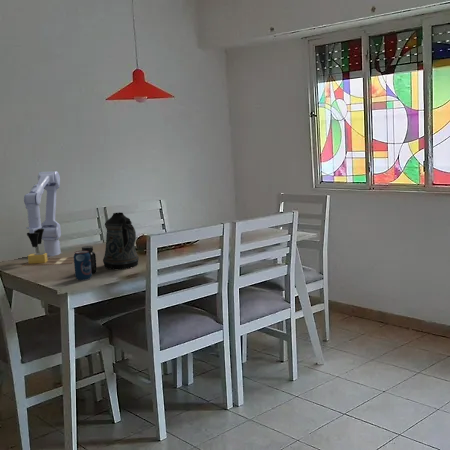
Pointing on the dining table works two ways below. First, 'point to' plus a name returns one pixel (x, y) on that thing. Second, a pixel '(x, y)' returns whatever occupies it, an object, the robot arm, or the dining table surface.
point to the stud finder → (37, 258)
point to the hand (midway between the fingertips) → (36, 245)
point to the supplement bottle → (91, 258)
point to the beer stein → (120, 243)
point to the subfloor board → (53, 261)
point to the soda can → (82, 265)
